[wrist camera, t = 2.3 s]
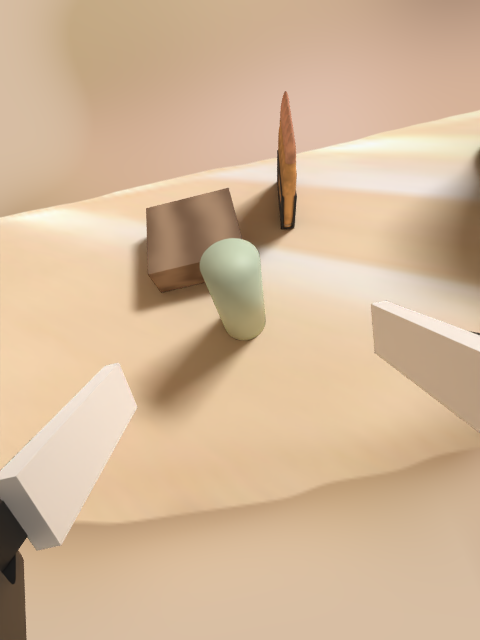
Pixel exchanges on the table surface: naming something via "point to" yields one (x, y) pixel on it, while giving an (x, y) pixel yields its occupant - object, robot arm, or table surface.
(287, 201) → the ammunition clip
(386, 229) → the table surface
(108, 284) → the table surface
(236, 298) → the sage cylinder
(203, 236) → the walnut plinth
